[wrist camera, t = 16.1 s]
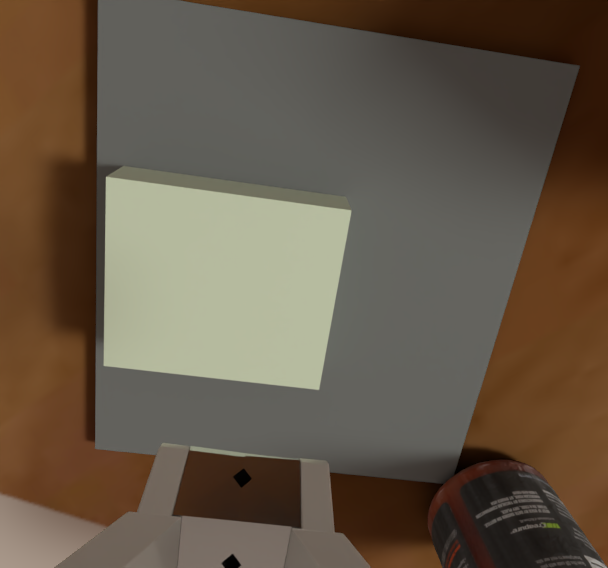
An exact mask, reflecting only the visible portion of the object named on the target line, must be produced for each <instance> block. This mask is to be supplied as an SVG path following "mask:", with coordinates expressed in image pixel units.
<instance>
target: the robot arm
mask: <svg viewBox="0 0 608 568" xmlns="http://www.w3.org/2000/svg"><path fill="white" fill-rule="evenodd" d="M55 568H371V567H370V566H369V564H368V563H367V562H366V561H365V559H364V558H363V557H362V556H361V555H360V553H359V552H358V551H357V550H356V548H355V547H354V546H353V545H352V544H351V542H350V541H349V540H348V539H347V537H346V536H345V535H344V534H343V533H335V529H334V518H333V506H332V495H331V483H330V472H329V464H328V462H327V461H324V460H313V459H302V458H300V459H296V458H286V457H276V456H267V455H257V454H247V453H240V452H233V451H225V450H218V449H210V448H203V447H195V446H191V447H190V446H184V445H177V444H169V443H162V444H161V446H160V447H159V449H158V452H157V455H156V458H155V461H154V464H153V466H152V469H151V472H150V475H149V478H148V481H147V484H146V487H145V490H144V493H143V496H142V499H141V502H140V505H139V508H138V511H137V512H127V513H126V514H124V515H123V516H122V517H120V518H119V519H118V520H116V521H115V522H114V523H113V524H111V525H110V526H109V527H107V528H106V529H105V530H104V531H102V532H101V533H100V534H98V535H97V536H96V537H94V538H93V539H91V540H90V541H89V542H87V543H86V544H85V545H84V546H82V547H81V548H80V549H78V550H77V551H76V552H74V553H73V554H72V555H70V556H69V557H68V558H66V559H65V560H64V561H62V562H61V563H60V564H58V565H57V566H56V567H55Z"/></svg>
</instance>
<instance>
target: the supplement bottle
mask: <svg viewBox="0 0 608 568" xmlns="http://www.w3.org/2000/svg"><path fill="white" fill-rule="evenodd" d="M428 529H429V532H430V535H431V537H432V541H433V545H434V547H435V550H436V552H437V554H438V557H439V559H440V562H441V565H442V567H443V568H607V566H606V565H605V564H604V562H603V560H602V559H601V558H600V556H599V555H598V553H597V552H596V551H595V549H594V548H593V546H592V545H591V543H590V542H589V540H588V539H587V538H586V536H585V534H584V533H583V531H582V530H581V529H580V527H579V526H578V525H577V523H576V522H575V520H574V519H573V517H572V516H571V514H570V513H569V511H568V510H567V509H566V507H565V506H564V504H563V503H562V502H561V500H560V499H559V497H558V496H557V494H556V493H555V491H554V490H553V489H552V487H551V486H550V485H549V484H548V482H547V481H546V479H545V478H544V477H543V476H542V475H541V474H540V473H539V472H538V471H537V470H536V469H534V468H533V467H531V466H529V465H527V464H525V463H521V462H518V461H513V460H503V459H502V460H492V461H485V462H480V463H477V464H475V465H473V466H470V467H468V468H466V469H463V470H462V471H460V472H459V473H457V474H456V475H454V476H453V477H451V478H450V479H449V480H447V481H446V483H445V484H443V486H441V487H440V489H439V490H438V491H437V493H436V494H435V496H434V498H433V500H432V501H431V504H430V507H429V512H428Z"/></svg>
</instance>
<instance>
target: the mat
mask: <svg viewBox="0 0 608 568" xmlns="http://www.w3.org/2000/svg"><path fill="white" fill-rule="evenodd" d="M579 67H580V66H578V65H572V64H565V63H559V62H553V61H547V60H541V59H535V58H529V57H522V56H516V55H510V54H504V53H498V52H492V51H486V50H479V49H473V48H467V47H461V46H455V45H449V44H443V43H437V42H430V41H424V40H418V39H412V38H406V37H400V36H394V35H387V34H381V33H375V32H369V31H363V30H357V29H351V28H344V27H338V26H332V25H326V24H320V23H314V22H308V21H302V20H295V19H289V18H283V17H277V16H271V15H265V14H259V13H252V12H246V11H240V10H234V9H228V8H222V7H216V6H209V5H203V4H197V3H191V2H185V1H179V0H98V70H97V234H96V397H95V449H101V450H111V451H121V452H131V453H141V454H151V455H157V452H158V449H159V447H160V446H161V444H162V443H169V444H177V445H184V446H190V447H191V446H195V447H203V448H210V449H218V450H225V451H233V452H240V453H247V454H257V455H267V456H276V457H286V458H296V459H300V458H302V459H313V460H324V461H327V462H328V464H329V472H331V473H341V474H351V475H361V476H371V477H381V478H391V479H401V480H411V481H421V482H431V483H441V484H445V483H446V481H447V480H449V479H450V478H451V477H453V476H454V473H455V470H456V467H457V464H458V460H459V457H460V454H461V451H462V447H463V444H464V441H465V438H466V434H467V431H468V428H469V425H470V421H471V418H472V415H473V412H474V408H475V405H476V402H477V399H478V395H479V392H480V389H481V386H482V382H483V379H484V376H485V373H486V369H487V366H488V363H489V360H490V356H491V353H492V350H493V347H494V343H495V340H496V337H497V334H498V330H499V327H500V324H501V321H502V317H503V314H504V311H505V308H506V304H507V301H508V298H509V295H510V291H511V288H512V285H513V282H514V278H515V275H516V272H517V269H518V265H519V262H520V259H521V256H522V252H523V249H524V246H525V243H526V239H527V236H528V233H529V230H530V226H531V223H532V220H533V217H534V213H535V210H536V207H537V204H538V200H539V197H540V194H541V191H542V187H543V184H544V181H545V178H546V175H547V171H548V168H549V165H550V162H551V158H552V155H553V152H554V149H555V145H556V142H557V139H558V136H559V132H560V129H561V126H562V123H563V119H564V116H565V113H566V110H567V106H568V103H569V100H570V97H571V93H572V90H573V87H574V84H575V80H576V77H577V74H578V71H579ZM123 166H128V167H135V168H142V169H149V170H156V171H164V172H171V173H178V174H185V175H192V176H200V177H207V178H214V179H221V180H228V181H236V182H243V183H250V184H257V185H264V186H271V187H279V188H286V189H293V190H300V191H307V192H315V193H322V194H329V195H336V196H343V197H346V198H347V201H348V203H349V205H350V208H351V210H352V211H351V217H350V222H349V228H348V233H347V239H346V244H345V250H344V255H343V261H342V266H341V272H340V277H339V283H338V288H337V294H336V299H335V305H334V310H333V316H332V321H331V327H330V332H329V338H328V343H327V349H326V354H325V360H324V365H323V371H322V376H321V382H320V387H319V390H315V389H306V388H297V387H288V386H279V385H270V384H261V383H252V382H243V381H234V380H225V379H216V378H207V377H198V376H189V375H180V374H171V373H162V372H154V371H145V370H136V369H127V368H118V367H109V366H104V296H105V214H106V176H108V175H110V174H111V173H113V172H114V171H116V170H118V169H119V168H121V167H123Z"/></svg>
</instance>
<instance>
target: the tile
mask: <svg viewBox="0 0 608 568" xmlns="http://www.w3.org/2000/svg"><path fill="white" fill-rule="evenodd" d="M351 211H352V210H351V208H350V205H349V203H348V201H347V198H346V197H343V196H336V195H329V194H322V193H315V192H307V191H300V190H293V189H286V188H279V187H271V186H264V185H257V184H250V183H243V182H236V181H228V180H221V179H214V178H207V177H200V176H192V175H185V174H178V173H171V172H164V171H156V170H149V169H142V168H135V167H128V166H123V167H121V168H119V169H118V170H116V171H114V172H113V173H111V174H110V175H108V176H106V214H105V296H104V366H109V367H118V368H127V369H136V370H145V371H154V372H162V373H171V374H180V375H189V376H198V377H207V378H216V379H225V380H234V381H243V382H252V383H261V384H270V385H279V386H288V387H297V388H306V389H315V390H319V387H320V382H321V376H322V371H323V365H324V360H325V354H326V349H327V343H328V338H329V332H330V327H331V321H332V316H333V310H334V305H335V299H336V294H337V288H338V283H339V277H340V272H341V266H342V261H343V255H344V250H345V244H346V239H347V233H348V228H349V222H350V217H351Z"/></svg>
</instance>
